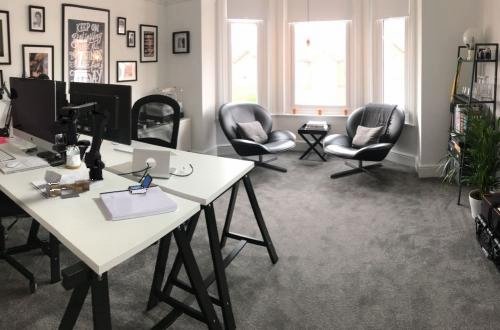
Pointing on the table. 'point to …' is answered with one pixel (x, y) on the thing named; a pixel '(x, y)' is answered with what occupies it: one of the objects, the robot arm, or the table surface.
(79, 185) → the walnut block
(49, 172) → the die
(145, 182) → the handheld game console
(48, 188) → the tunnel
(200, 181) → the table surface
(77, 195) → the pit mat
